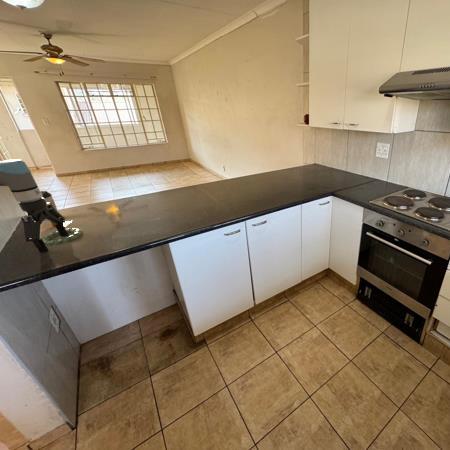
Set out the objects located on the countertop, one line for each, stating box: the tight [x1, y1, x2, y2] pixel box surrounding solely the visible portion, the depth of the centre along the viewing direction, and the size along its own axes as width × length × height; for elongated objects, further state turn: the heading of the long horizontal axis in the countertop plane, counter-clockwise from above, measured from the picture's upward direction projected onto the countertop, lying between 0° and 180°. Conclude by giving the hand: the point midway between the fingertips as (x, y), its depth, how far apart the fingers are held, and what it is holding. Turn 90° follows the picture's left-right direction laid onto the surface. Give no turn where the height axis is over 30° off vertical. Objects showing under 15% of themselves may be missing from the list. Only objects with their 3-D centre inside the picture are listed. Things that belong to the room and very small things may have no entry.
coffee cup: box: [40, 190, 58, 222], centre depth 131 cm, size 9×9×15 cm
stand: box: [40, 202, 73, 232], centre depth 121 cm, size 9×9×14 cm
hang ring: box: [41, 227, 83, 246], centre depth 113 cm, size 14×14×3 cm
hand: (55, 244), depth 108 cm, fingers open, 13 cm apart
